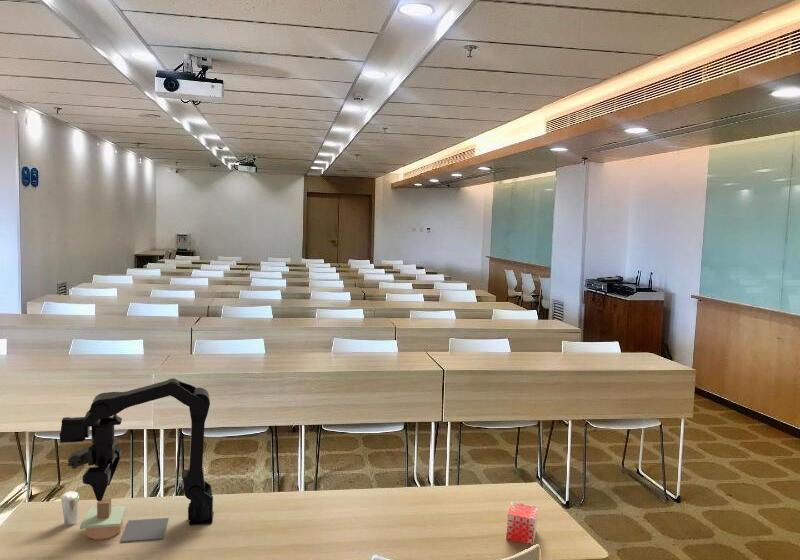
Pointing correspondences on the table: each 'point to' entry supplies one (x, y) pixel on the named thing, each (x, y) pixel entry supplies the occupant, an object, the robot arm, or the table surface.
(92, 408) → the robot arm
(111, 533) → the bowl
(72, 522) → the milkshake
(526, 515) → the puzzle cube
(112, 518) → the cover board
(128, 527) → the mat
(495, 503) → the table surface
